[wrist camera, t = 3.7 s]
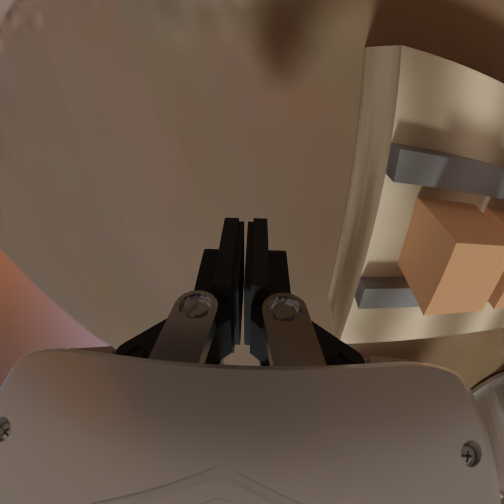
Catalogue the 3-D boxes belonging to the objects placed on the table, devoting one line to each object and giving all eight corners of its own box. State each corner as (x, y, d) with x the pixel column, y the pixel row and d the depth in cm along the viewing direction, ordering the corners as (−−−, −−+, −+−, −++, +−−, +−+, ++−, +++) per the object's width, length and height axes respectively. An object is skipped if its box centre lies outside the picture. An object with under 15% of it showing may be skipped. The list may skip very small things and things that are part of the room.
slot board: (550, 118, 13) (600, 145, 8) (490, 290, 23) (517, 333, 18) (364, 47, 13) (412, 45, 8) (328, 294, 24) (341, 355, 19)
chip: (474, 204, 13) (515, 246, 10) (451, 263, 15) (481, 310, 12) (417, 196, 13) (456, 242, 10) (397, 262, 15) (423, 315, 12)
